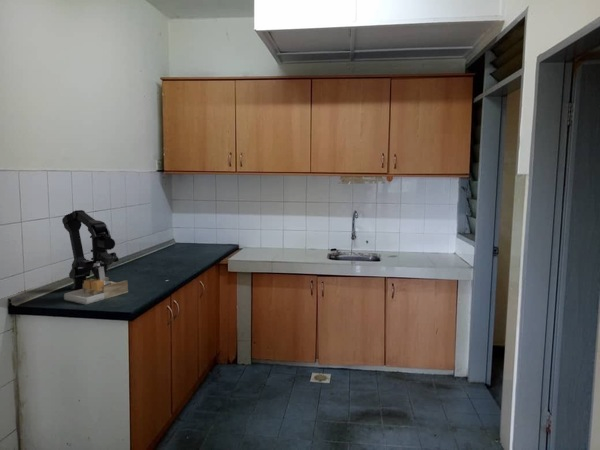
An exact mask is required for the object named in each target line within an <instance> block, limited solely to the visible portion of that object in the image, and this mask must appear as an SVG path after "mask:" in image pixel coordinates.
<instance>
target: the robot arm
mask: <svg viewBox="0 0 600 450" xmlns="http://www.w3.org/2000/svg"><path fill="white" fill-rule="evenodd" d="M61 222H62V224H63V228H64V229H65V230H66V231H67V232H68V234H69V240H70V245H71V249H72V256H73V261H72V264H71V269H70V272H69V273H68V275H69V279H72V280H73V287H71V288H70V289H71V290H74V291H76V290H80V289H83V283H84V280H87V277H90V276H91V273H92V274H93V276H94V278H95V280H96V279H98V268H99V267H100V266H103V267H104V273H105V275H106V274H107V271H108V268H109V267H110V266H111V265H113V263H117V262H119V256H118V255H117V253H116V252H111V253H110V252H108V251H111V250H112V249H114V248H115V247H116V241H115V239H113V238H112V236H111V232H110V230H109V228H108V226H107V224H106V223H105V222H104V221H102V220H97V219H95V218H94V217H92V216H91V215H89V214H88V213H86V211H85V210H82V209H79V210H77V209H76V210H73V211H72V212H70V213H68V214H66V215H64V216H63V218H62V219H61ZM82 224H83V225H85V226H86V228H87V231H88V232H89V234H90V236H89V239H91V244H92V246H91V248H92V249H90V252H91V253H92V257H91V258H90V259H91V260H89V259H87V258H86V257H85V254H84V250H83V249H84V248H83V243H82V237H81V233H80V230H81V227H82ZM98 264H99V265H98Z"/></svg>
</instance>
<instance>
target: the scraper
mask: <svg viewBox="0 0 600 450" xmlns="http://www.w3.org/2000/svg"><path fill="white" fill-rule="evenodd" d="M99 266H100V265H99ZM105 277H106V274H105V273H104V267H103V266H100V267H99V268H98V279H96V278H95V280H101V281H104V286H107V285H110V284H111V282H112V281H111V282H107V281H106V280H105Z"/></svg>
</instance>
